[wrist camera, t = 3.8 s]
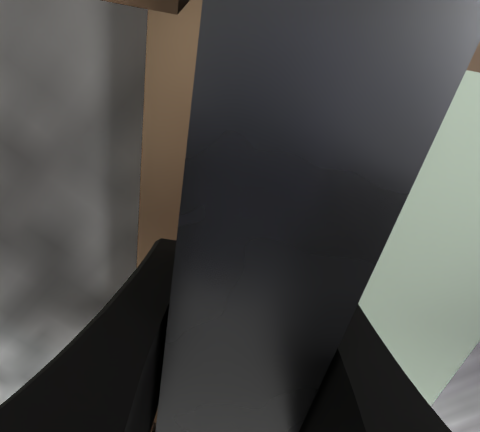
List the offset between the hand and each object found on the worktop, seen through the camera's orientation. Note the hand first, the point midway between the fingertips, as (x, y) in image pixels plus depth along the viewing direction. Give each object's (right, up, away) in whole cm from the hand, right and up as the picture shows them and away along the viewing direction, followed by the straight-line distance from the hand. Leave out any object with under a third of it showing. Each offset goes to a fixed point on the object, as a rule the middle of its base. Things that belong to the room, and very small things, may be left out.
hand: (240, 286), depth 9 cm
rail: (0, 0, 0) cm, 0 cm away
